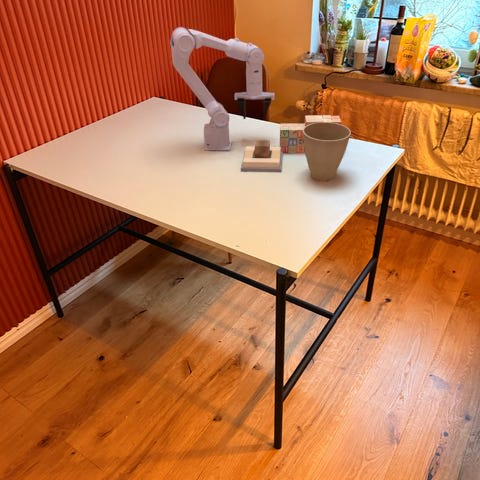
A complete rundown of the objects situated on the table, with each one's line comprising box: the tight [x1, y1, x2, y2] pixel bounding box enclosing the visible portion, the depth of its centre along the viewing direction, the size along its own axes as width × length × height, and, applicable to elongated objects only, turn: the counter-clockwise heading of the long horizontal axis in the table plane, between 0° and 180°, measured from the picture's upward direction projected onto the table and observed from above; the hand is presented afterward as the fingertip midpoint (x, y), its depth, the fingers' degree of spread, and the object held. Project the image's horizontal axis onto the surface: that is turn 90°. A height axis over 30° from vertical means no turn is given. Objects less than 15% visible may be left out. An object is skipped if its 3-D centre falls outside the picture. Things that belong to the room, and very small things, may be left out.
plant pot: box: [303, 122, 351, 182], centre depth 146 cm, size 15×15×16 cm
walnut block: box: [254, 139, 271, 158], centre depth 158 cm, size 5×5×6 cm
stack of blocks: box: [279, 114, 342, 154], centre depth 164 cm, size 21×6×12 cm, turn 86°
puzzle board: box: [240, 145, 284, 173], centre depth 159 cm, size 14×14×3 cm
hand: (254, 118), depth 170 cm, fingers open, 7 cm apart
